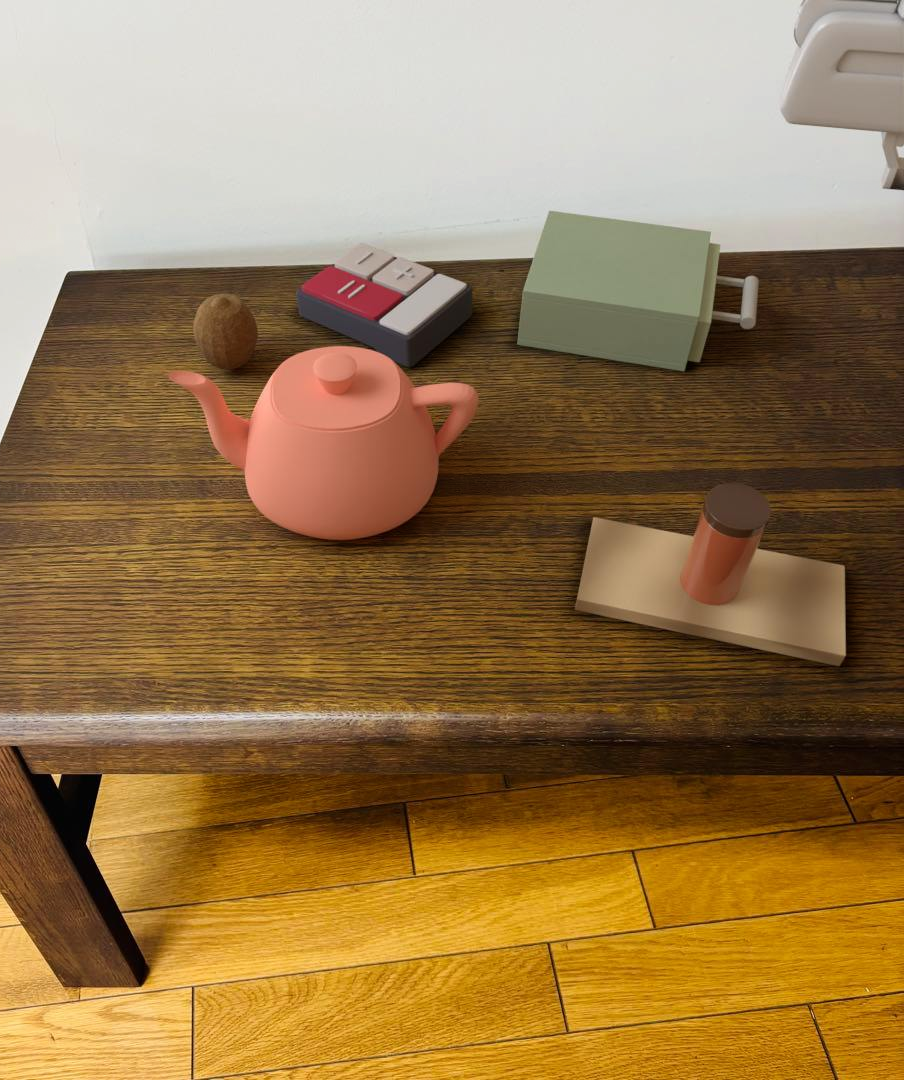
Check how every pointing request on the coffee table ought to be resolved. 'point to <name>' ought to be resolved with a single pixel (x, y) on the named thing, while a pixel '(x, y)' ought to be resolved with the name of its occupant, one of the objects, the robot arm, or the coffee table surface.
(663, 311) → the cabinet
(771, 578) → the board
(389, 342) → the calculator
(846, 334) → the coffee table surface
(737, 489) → the spice jar
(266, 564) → the coffee table surface
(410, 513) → the teapot
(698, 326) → the drawer
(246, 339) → the fruit
